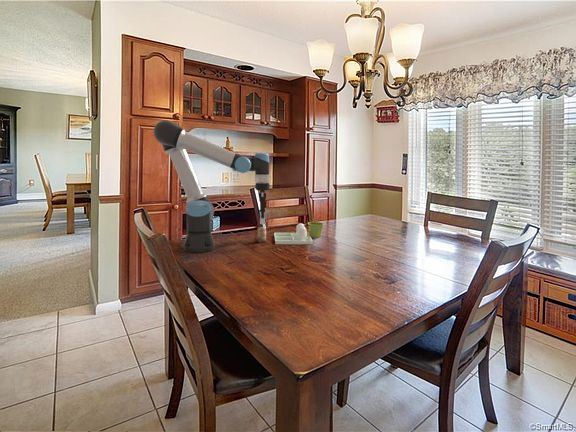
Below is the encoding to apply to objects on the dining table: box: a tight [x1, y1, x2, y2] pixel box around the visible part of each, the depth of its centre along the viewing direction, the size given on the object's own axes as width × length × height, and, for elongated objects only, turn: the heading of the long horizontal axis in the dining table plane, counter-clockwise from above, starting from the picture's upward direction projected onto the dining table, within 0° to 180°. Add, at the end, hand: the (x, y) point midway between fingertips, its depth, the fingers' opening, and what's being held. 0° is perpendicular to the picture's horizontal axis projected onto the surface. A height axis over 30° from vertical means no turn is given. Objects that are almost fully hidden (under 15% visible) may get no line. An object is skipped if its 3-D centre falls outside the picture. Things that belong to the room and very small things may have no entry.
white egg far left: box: [295, 223, 305, 236], centre depth 195 cm, size 5×5×8 cm
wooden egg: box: [257, 226, 267, 244], centre depth 188 cm, size 5×5×8 cm
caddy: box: [273, 232, 314, 245], centre depth 191 cm, size 20×20×3 cm
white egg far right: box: [298, 226, 308, 241], centre depth 186 cm, size 5×5×8 cm
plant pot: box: [307, 221, 325, 239], centre depth 199 cm, size 9×9×9 cm
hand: (262, 221), depth 187 cm, fingers open, 13 cm apart
